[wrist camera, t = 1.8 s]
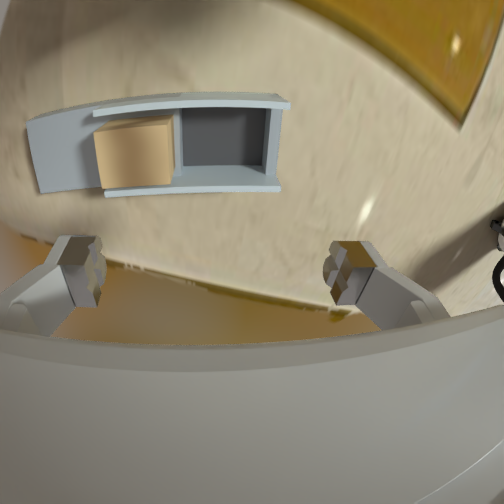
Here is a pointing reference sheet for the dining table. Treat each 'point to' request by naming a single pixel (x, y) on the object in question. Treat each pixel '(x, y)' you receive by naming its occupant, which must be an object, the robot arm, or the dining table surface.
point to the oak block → (136, 151)
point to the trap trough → (185, 140)
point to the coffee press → (500, 227)
